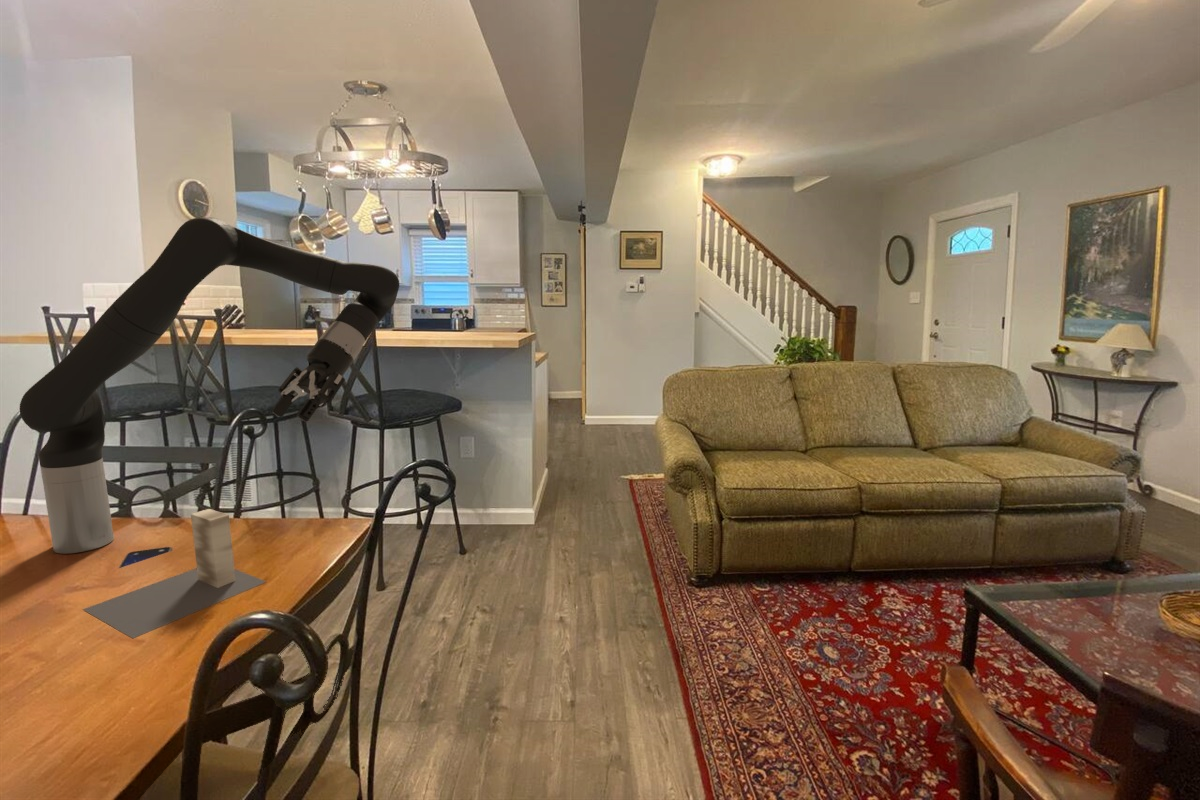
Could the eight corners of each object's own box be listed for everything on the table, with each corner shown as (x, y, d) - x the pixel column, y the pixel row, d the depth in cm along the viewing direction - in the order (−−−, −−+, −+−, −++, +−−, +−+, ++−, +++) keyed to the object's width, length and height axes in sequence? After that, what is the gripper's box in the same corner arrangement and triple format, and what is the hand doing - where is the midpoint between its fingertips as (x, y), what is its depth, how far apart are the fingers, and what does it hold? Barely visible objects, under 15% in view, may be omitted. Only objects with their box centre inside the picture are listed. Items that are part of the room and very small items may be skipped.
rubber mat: (83, 614, 94) (82, 609, 94) (215, 565, 111) (215, 561, 111) (133, 643, 86) (132, 638, 86) (267, 586, 103) (267, 581, 103)
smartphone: (173, 545, 119) (159, 576, 106) (173, 550, 119) (160, 581, 106) (127, 551, 115) (106, 584, 102) (127, 556, 115) (107, 590, 102)
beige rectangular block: (198, 579, 104) (190, 514, 102) (217, 572, 107) (210, 508, 105) (217, 587, 101) (210, 520, 99) (236, 580, 104) (230, 514, 102)
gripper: (302, 336, 120) (251, 402, 113) (345, 338, 113) (294, 409, 105) (329, 359, 126) (282, 424, 118) (372, 362, 118) (325, 431, 111)
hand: (288, 416), depth 112 cm, fingers open, 8 cm apart
